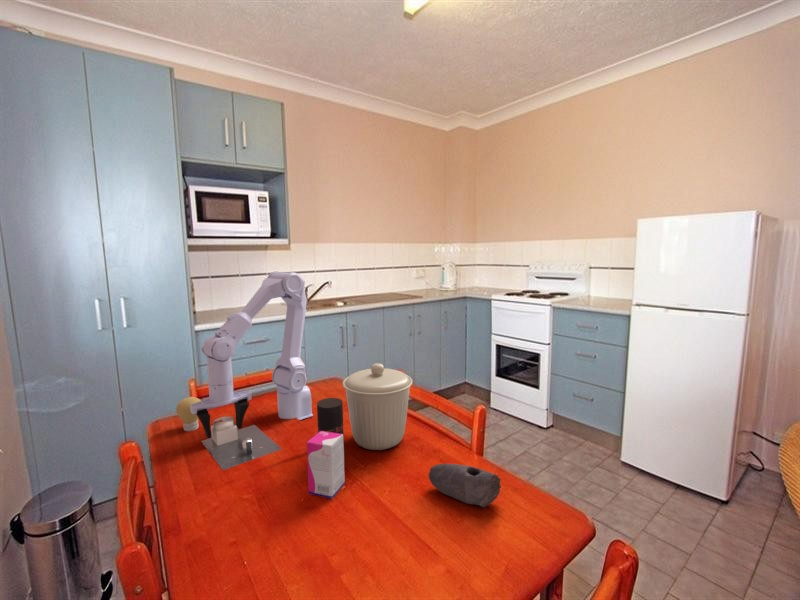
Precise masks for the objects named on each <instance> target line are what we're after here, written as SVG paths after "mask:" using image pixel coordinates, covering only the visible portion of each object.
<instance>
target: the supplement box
mask: <svg viewBox="0 0 800 600" xmlns="http://www.w3.org/2000/svg"><path fill="white" fill-rule="evenodd" d="M343 435H344V433H343V434H338V433H331V432H325V431H320V432H319V433H318V432H317V433H316V434H315V435H314V436H313V437H311V438H310V439H309V440H308V441H307V442H306V451H307V452H306V453H307V454H306V455H307V456H306V457H307V480H308V484H307V485H308V494H309V495H311V496H312V495H313V496H317V497H322V498H326V499H329V500H333V499H334V498H335V497H336V495H338V492H340V490H341V489H342V488H343V486H344V485H345V484H346V482H345V481H346V477H345V446H344V445H345V443H344V444H343Z"/></svg>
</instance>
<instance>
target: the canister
mask: <svg viewBox="0 0 800 600" xmlns="http://www.w3.org/2000/svg"><path fill="white" fill-rule="evenodd" d="M412 385H413V378H411V376H409V375H407V374H406V373H405V372H403V371H400V370H397V369H392V368H387V367H386V368H385V366H384V365H383V363H380V362H376V363H373V364H372V365H371V366H370V368H367V369H362V370H359V371H355V372H354V373H352V374H350V375H348V376H347V377H345V378H344V379H343V380H342V386H343V388H344V389H345V393H346V402H347V403H346V404H347V409H348V416H349V422H350V429H351V434H352V437H353V439H354V441H355V443H356V444H357V445H358V446H359V447H362V448H363V449H365V450H366V449H367V450H372V451H382V450H388V449H391V448H394V447H395V446H397V445H398V444H400V443H401V441H402V439H403V438H404V436H405V430H406V425H407V418H408V417H407V416H408V408H409V399H410V389H411V387H412Z"/></svg>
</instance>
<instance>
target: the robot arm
mask: <svg viewBox="0 0 800 600" xmlns="http://www.w3.org/2000/svg"><path fill="white" fill-rule="evenodd" d="M277 298H281V299H282V300H283V302H285V303H286V305H287V306H286V315H285V321H284V322H285V323H284V331H283V338H282V339H283V340H282V348H281V349H282V350H281V356H280V358H278V359H277V360H276V362H275V366H274V369H273V370H272V373H271V380H272V382H273V384H274V385H276V394H277V396H276V397H277V410H278V411H277V413H278V415H277V416H278V418H280V419H282V420H292V419H297V420H299V421H302V420H305V419H308V418H311V417H313V416H314V414H313V410H312V405H313V404H312V394H311V389H310V387H309V386H308V385H306V384H307V375H306V364H305V363H304V362H303V359H301V355H302V354H301V353H302V345H303V338H304V331H305V330H304V329H305V321H306V320H305V319H306V313H307V312H306V310H307V302H308V300H307V295H306V291H305V280H304V279H303V278H302V276H300V274H298V273H297V272H294V271H293V272H283V271H272V272H270V273H269V274H268V276H266V278H265V279H263V280H262V283H261V285H260V287H259V288H258V289H257V290H256V292H255V293H254V294H253V296H252V297H251V298H250V299H249V301H248V302H247V303H246V305H245V306H244V307H243V309H242V310H241V311H239V312H233V313H232V314H228V316H227V317H226V319H227V320H226V321H225V322H224V323H223V324H222V326H220V328H219V329H218V330H217V329H216V330H215V331H214V333H213V334H214V335H212V336H211V335H210V336H209V337H207V338H206V339H205V340H204V342H203V346H201V348H200V349H201V352H202V353H203V356H205V357H206V368H207V382H208V383H207V384H208V395H209V398H207V399H204V400H200V401H201V402H198V403H195V404H191V405H190V410H191V413H192V414H196V415H197V416H198V418H197V419H198V420H199V421H200V423H201V425H202V427H203V429H204V434H205V436H206V438H207V439H209V438H212V434H211V414H210V413H209V411H208V410H211V409H215V408H219V407H224V406H226V405H227V406H228V405H231V404H234V411H235V425H236V426H237V430H239V429H242V428H243V421H244V418H245V416H246V413H247V410H248V409H249V406H250V402H249V401H250V400H252V391H250V390H246V391H241V392H240V391H239V392H234V382H233V381H234V379H233V365H232V364H233V363H232V356H234V355H235V353H236V346H237V345H238V343H239V342H240V341H241V339H242V338H243V337H244V336H245V334H247V332H249V330H250V329H251V328H252V326H253V323H252V320H253V319H254V318H255V317H256V315H257V314H259V312H260V311H261V310H262V309H263V308H264V307H265V306H266V305H267V304H268V303H269V302H271V300H272V299H277Z"/></svg>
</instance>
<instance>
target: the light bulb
mask: <svg viewBox="0 0 800 600" xmlns="http://www.w3.org/2000/svg"><path fill="white" fill-rule="evenodd" d="M201 401H202V400H201V399H200V398H197V397H194V396H189V397H188V396H187V397H184V398H183V399H181V400H180V401H179V402H178V403H177V405H176V408H175V410H176V411H175V412H176V415H177V417H178V418H179V419H180V420H182V424H183V425H182V426H183V427H182V428H183V430H184V431H185V432H192V431H195V430H197V429H199V427H200V426H199V418H198V416H197V415H196V414H192V413H191V410H190V405H191V404H195V403H198V402H201Z"/></svg>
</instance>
